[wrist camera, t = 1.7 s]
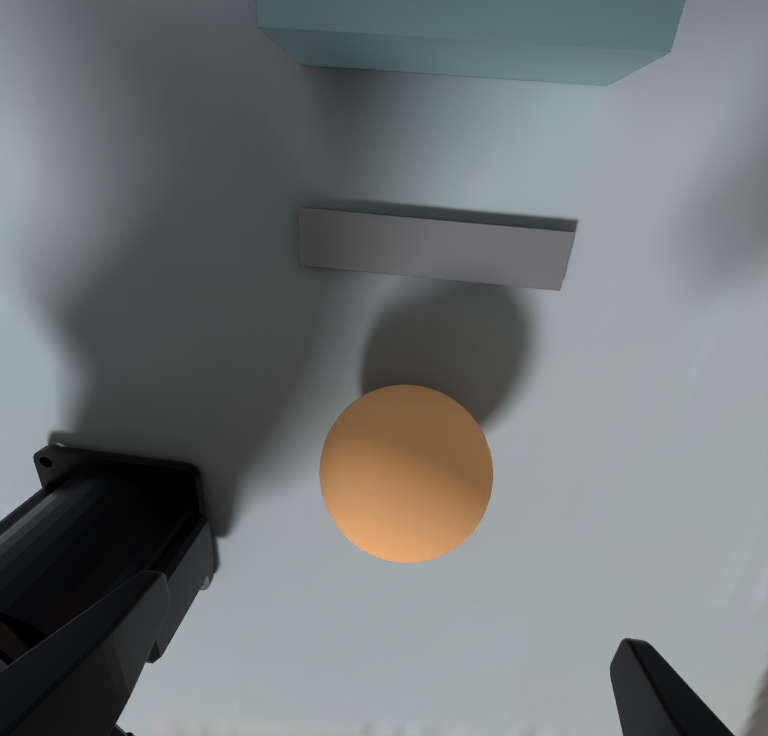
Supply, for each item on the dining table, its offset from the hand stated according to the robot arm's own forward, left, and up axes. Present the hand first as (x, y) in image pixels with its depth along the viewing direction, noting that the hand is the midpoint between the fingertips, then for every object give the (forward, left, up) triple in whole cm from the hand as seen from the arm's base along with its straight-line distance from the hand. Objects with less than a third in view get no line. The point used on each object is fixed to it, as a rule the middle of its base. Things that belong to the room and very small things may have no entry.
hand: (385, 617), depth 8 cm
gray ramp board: (0, +6, -7) cm, 9 cm away
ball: (0, 0, -5) cm, 5 cm away
